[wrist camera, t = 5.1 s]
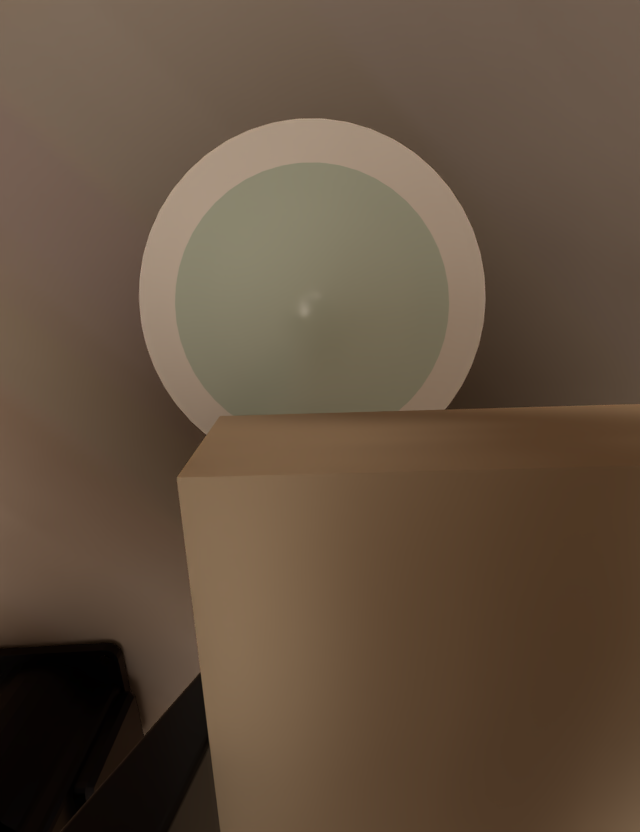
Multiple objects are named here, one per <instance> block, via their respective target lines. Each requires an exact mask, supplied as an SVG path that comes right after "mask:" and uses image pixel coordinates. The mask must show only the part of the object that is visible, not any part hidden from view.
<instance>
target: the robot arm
mask: <svg viewBox="0 0 640 832" xmlns="http://www.w3.org/2000/svg"><path fill="white" fill-rule="evenodd" d="M104 655H106V656H109V657H110V658H111V659H110V658H107V657H105V656H104ZM0 832H220V825H219V817H218V808H217V800H216V792H215V784H214V776H213V768H212V760H211V752H210V744H209V736H208V728H207V720H206V712H205V703H204V695H203V687H202V679H201V672H200V673H199V674H198V676H197V677H196V678H195V679H194V680H193V681H192V682H191V683H190V685H189V686H188V687H187V688H186V689H185V690H184V691H183V693H182V694H181V695H180V696H179V697H178V698H177V699H176V700H175V702H174V703H173V704H172V705H171V706H170V707H169V708H168V710H167V711H166V712H165V713H164V714H163V715H162V716H161V717H160V719H159V720H158V721H157V722H156V723H155V724H154V725H153V727H152V728H151V729H150V730H149V731H148V732H147V733H146V734H145V736H144V735H143V730H142V725H141V721H140V716H139V712H138V707H137V702H136V698H135V696H134V694H133V693H132V691H130V687H129V682H128V678H127V673H126V669H125V664H124V659H123V655H122V652H121V649H120V648H119V647H118V646H117V645H114V644H112V643H99V644H81V645H62V646H44V647H26V648H7V649H0Z"/></svg>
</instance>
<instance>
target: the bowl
mask: <svg viewBox="0 0 640 832" xmlns="http://www.w3.org/2000/svg"><path fill="white" fill-rule="evenodd" d="M485 302H486V296H485V276H484V270H483V264H482V259H481V253H480V250H479V247H478V244H477V240H476V237H475V234H474V231H473V229H472V226H471V224H470V222H469V220H468V218H467V216H466V214H465V212H464V209H463V208H462V206H461V204H460V203H459V201H458V200H457V198H456V197H455V195H454V194H453V192H452V191H451V189H450V188H449V186H448V185H447V184H446V183H445V182H444V181H443V180H442V178H441V177H440V176H439V175H438V174H437V173H436V171H435V170H434V169H433V168H432V167H430V166H429V165H428V164H427V163H426V162H425V161H424V160H422V159H421V158H420V157H419V156H418V155H417V154H416V153H414V152H413V151H411V150H410V149H408V148H407V147H405V146H403V145H402V144H400V143H399V142H397V141H396V140H394V139H392V138H390V137H388V136H386V135H383V134H381V133H379V132H377V131H375V130H373V129H370V128H366V127H363V126H360V125H356V124H353V123H349V122H345V121H337V120H330V119H323V118H313V119H292V120H286V121H279V122H273V123H270V124H266V125H263V126H260V127H257V128H254V129H250V130H248V131H246V132H244V133H242V134H240V135H237V136H235V137H233V138H231V139H229V140H227V141H226V142H224V143H223V144H221V145H220V146H218V147H217V148H215V149H214V150H212V151H211V152H209V153H208V154H206V155H205V156H204V157H203V158H202V159H201V160H200V161H199V162H197V163H196V164H195V165H194V166H193V167H192V168H191V169H190V170H189V171H188V172H187V173H186V174H185V175H184V176H183V178H182V179H181V180H180V181H179V182H178V184H177V185H176V186H175V187H174V188H173V190H172V191H171V193H170V194H169V196H168V198H167V199H166V201H165V203H164V204H163V206H162V207H161V209H160V211H159V213H158V215H157V217H156V220H155V222H154V224H153V226H152V229H151V231H150V234H149V237H148V240H147V244H146V247H145V250H144V254H143V259H142V266H141V272H140V280H139V307H140V316H141V325H142V329H143V334H144V338H145V342H146V347H147V349H148V352H149V355H150V357H151V360H152V363H153V366H154V368H155V370H156V372H157V374H158V376H159V378H160V380H161V382H162V383H163V385H164V387H165V389H166V390H167V392H168V393H169V395H170V396H171V398H172V399H173V400H174V402H175V403H176V405H177V406H178V407H179V408H180V409H181V411H182V412H183V413H184V414H185V415H186V416H187V417H188V419H189V420H190V421H191V422H192V423H193V424H195V425H196V426H197V427H198V428H199V429H200V430H201V431H202V432H204V433H205V434H206V435H207V434H208V432H209V431H210V429H211V428H212V426H213V425H214V424H215V422H216V421H217V419H218V418H219V417H220V416H240V415H275V414H309V413H344V412H378V411H413V410H445V409H446V408H447V407H448V405H449V404H450V403H451V401H452V400H453V398H454V397H455V395H456V394H457V392H458V391H459V389H460V388H461V386H462V384H463V382H464V380H465V378H466V376H467V374H468V372H469V370H470V368H471V366H472V363H473V361H474V358H475V355H476V352H477V349H478V346H479V342H480V338H481V333H482V329H483V324H484V314H485Z"/></svg>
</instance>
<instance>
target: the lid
mask: <svg viewBox="0 0 640 832" xmlns="http://www.w3.org/2000/svg"><path fill="white" fill-rule="evenodd" d="M177 485H178V494H179V502H180V510H181V518H182V526H183V534H184V542H185V550H186V558H187V566H188V574H189V582H190V590H191V599H192V607H193V615H194V623H195V631H196V639H197V647H198V655H199V663H200V671H201V679H202V687H203V695H204V703H205V712H206V720H207V728H208V736H209V744H210V752H211V760H212V768H213V776H214V784H215V792H216V800H217V808H218V817H219V825H220V832H640V404H620V405H585V406H551V407H516V408H482V409H447V410H413V411H378V412H344V413H309V414H275V415H240V416H220V417H219V418H218V419H217V421H216V422H215V424H214V425H213V426H212V428H211V429H210V431H209V432H208V434H207V435H206V436H205V438H204V439H203V441H202V442H201V444H200V445H199V446H198V448H197V449H196V451H195V452H194V454H193V455H192V456H191V458H190V459H189V461H188V462H187V464H186V465H185V466H184V468H183V469H182V471H181V472H180V473H179V475H178V476H177Z"/></svg>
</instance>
